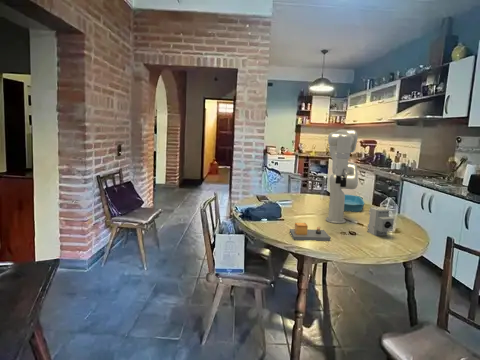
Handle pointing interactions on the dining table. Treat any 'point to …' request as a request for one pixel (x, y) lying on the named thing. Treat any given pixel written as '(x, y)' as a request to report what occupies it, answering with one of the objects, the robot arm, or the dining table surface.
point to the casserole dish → (353, 203)
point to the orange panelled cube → (301, 228)
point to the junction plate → (311, 235)
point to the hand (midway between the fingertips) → (340, 185)
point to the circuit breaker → (379, 221)
